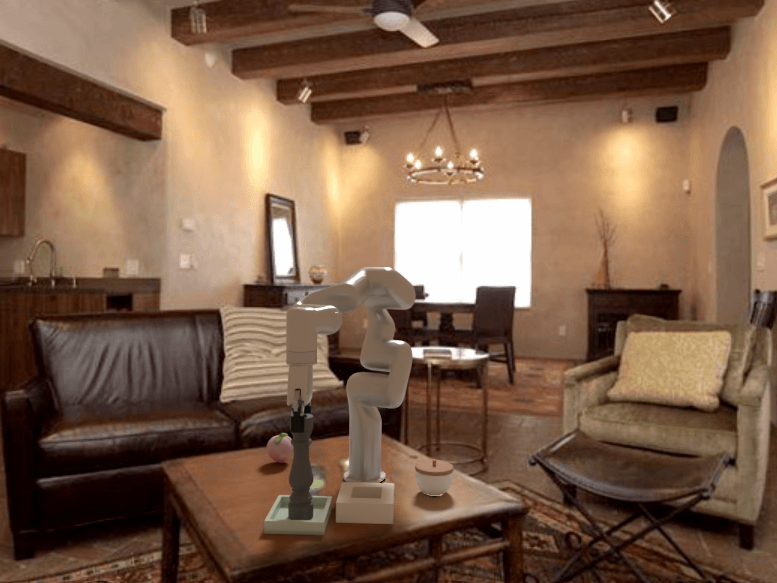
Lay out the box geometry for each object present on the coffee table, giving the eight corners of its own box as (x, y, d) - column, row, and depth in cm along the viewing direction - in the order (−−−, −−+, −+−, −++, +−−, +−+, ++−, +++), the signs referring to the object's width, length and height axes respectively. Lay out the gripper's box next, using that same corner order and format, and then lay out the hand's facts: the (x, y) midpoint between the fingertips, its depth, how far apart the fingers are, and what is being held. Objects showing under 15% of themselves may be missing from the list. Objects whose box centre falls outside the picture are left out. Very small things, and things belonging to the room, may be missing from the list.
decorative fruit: (270, 458, 193) (270, 428, 192) (295, 458, 193) (295, 428, 192) (263, 467, 183) (263, 436, 183) (289, 468, 183) (289, 436, 183)
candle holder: (283, 516, 146) (283, 415, 145) (303, 509, 150) (304, 411, 149) (298, 523, 141) (298, 420, 141) (318, 516, 146) (319, 416, 145)
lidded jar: (442, 484, 172) (443, 452, 171) (459, 497, 162) (460, 463, 161) (408, 488, 168) (409, 456, 167) (424, 502, 158) (424, 467, 157)
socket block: (341, 500, 158) (342, 481, 158) (394, 501, 158) (394, 483, 158) (335, 522, 144) (336, 502, 144) (393, 524, 144) (393, 503, 144)
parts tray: (278, 506, 154) (278, 494, 154) (332, 507, 153) (332, 496, 153) (264, 533, 138) (264, 520, 138) (323, 535, 137) (324, 522, 137)
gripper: (293, 352, 153) (292, 417, 154) (278, 363, 136) (278, 436, 136) (321, 352, 153) (321, 418, 154) (311, 363, 136) (310, 437, 136)
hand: (301, 426), depth 145 cm, fingers open, 9 cm apart
